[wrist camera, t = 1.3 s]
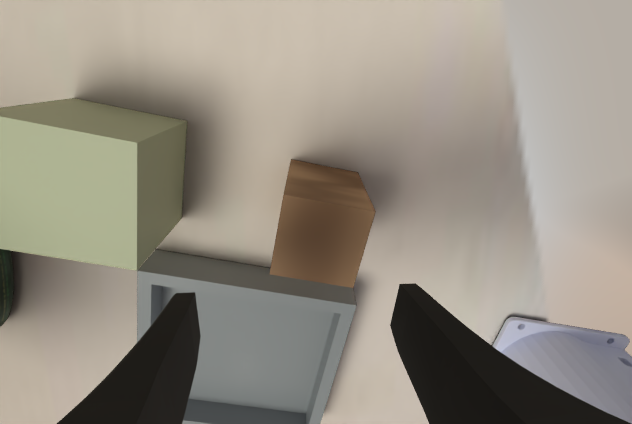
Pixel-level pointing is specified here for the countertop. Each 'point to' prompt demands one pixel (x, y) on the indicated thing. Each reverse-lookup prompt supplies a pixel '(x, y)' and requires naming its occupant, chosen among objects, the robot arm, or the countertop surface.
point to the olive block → (89, 181)
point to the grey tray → (252, 337)
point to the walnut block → (322, 225)
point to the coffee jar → (5, 284)
